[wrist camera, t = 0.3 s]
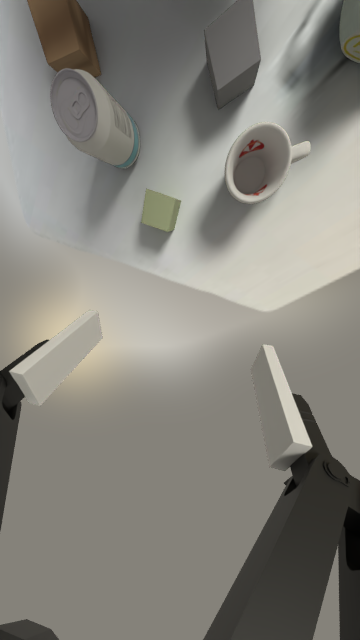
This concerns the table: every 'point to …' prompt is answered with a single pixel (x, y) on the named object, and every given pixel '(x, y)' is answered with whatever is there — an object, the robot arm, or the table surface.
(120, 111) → the beverage can
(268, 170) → the cup
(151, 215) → the olive block
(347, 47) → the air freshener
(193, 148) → the table surface
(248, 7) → the charcoal block
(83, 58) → the walnut block
